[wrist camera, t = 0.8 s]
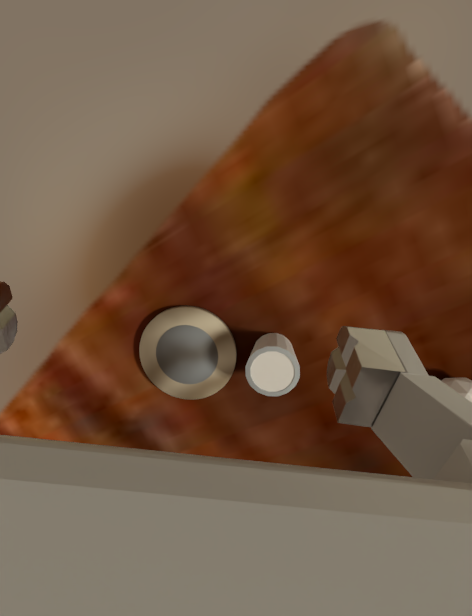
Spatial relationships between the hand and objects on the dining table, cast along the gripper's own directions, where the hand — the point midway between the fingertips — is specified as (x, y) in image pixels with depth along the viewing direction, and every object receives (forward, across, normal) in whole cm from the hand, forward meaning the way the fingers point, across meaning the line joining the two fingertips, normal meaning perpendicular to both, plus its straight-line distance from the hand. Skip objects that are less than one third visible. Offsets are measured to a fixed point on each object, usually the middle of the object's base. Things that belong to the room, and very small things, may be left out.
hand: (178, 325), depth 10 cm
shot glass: (+35, +10, -29) cm, 47 cm away
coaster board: (+36, -2, -32) cm, 48 cm away
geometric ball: (+31, +35, -30) cm, 56 cm away
